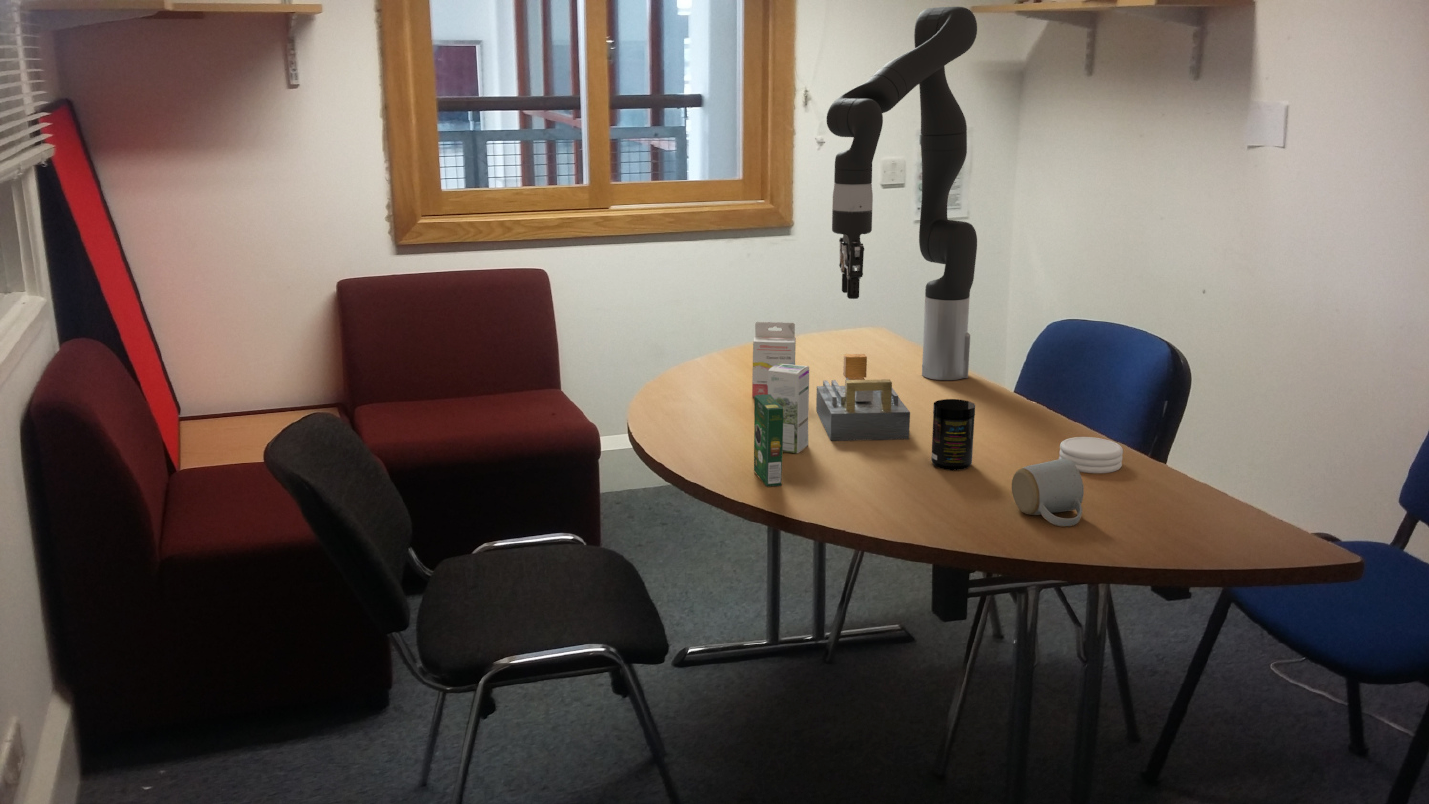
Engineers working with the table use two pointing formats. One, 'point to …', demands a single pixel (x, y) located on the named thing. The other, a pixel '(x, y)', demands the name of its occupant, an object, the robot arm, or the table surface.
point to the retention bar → (857, 373)
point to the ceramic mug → (1049, 490)
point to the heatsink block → (862, 411)
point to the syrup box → (791, 403)
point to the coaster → (1092, 454)
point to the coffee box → (768, 439)
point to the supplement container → (952, 434)
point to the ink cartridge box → (771, 352)
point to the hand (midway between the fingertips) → (850, 295)
